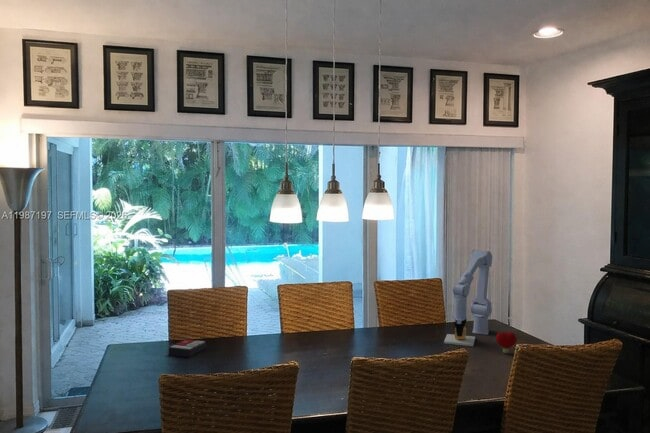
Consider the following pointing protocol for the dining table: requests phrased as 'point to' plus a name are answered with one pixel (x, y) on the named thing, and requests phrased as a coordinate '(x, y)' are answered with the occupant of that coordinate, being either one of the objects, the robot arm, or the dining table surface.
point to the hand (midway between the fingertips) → (460, 334)
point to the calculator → (187, 348)
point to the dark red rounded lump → (506, 340)
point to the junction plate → (459, 340)
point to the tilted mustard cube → (462, 334)
